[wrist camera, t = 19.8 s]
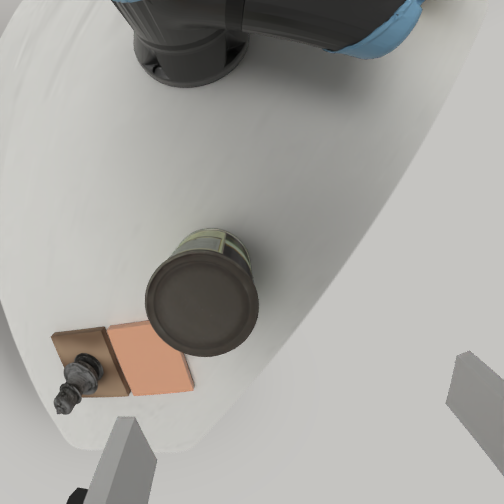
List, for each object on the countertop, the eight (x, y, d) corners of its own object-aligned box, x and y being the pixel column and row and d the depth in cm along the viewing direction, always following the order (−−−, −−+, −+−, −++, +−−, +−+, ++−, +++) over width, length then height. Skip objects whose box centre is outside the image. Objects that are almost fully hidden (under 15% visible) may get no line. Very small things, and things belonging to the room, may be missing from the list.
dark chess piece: (106, 358, 42) (75, 406, 30) (104, 386, 43) (78, 435, 31) (72, 346, 41) (36, 389, 29) (73, 374, 42) (41, 419, 31)
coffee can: (263, 246, 41) (278, 278, 27) (232, 314, 43) (232, 371, 29) (189, 214, 40) (166, 231, 26) (162, 285, 41) (131, 332, 28)
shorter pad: (54, 332, 42) (50, 336, 41) (104, 326, 42) (100, 330, 41) (82, 392, 45) (79, 397, 43) (130, 390, 45) (128, 396, 43)
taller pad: (110, 325, 42) (106, 330, 41) (172, 316, 42) (170, 321, 41) (136, 390, 45) (133, 395, 43) (194, 385, 45) (193, 390, 44)
